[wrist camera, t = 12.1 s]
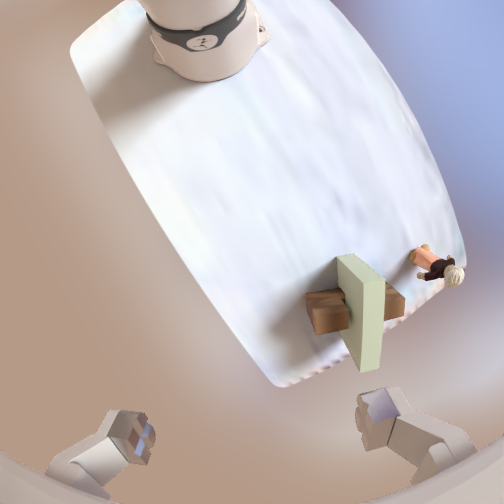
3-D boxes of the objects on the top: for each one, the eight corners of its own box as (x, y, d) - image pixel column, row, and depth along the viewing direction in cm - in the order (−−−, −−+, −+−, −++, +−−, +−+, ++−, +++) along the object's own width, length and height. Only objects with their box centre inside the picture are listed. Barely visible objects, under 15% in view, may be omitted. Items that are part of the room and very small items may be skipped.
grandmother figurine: (428, 234, 41) (473, 253, 29) (435, 252, 42) (478, 274, 30) (397, 259, 42) (438, 285, 30) (405, 276, 43) (444, 305, 31)
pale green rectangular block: (336, 256, 42) (363, 283, 31) (353, 253, 42) (385, 279, 31) (339, 332, 46) (359, 373, 34) (354, 328, 46) (378, 368, 34)
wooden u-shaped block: (307, 310, 45) (316, 334, 37) (305, 293, 44) (315, 316, 36) (383, 295, 44) (403, 315, 36) (383, 279, 43) (405, 298, 36)
